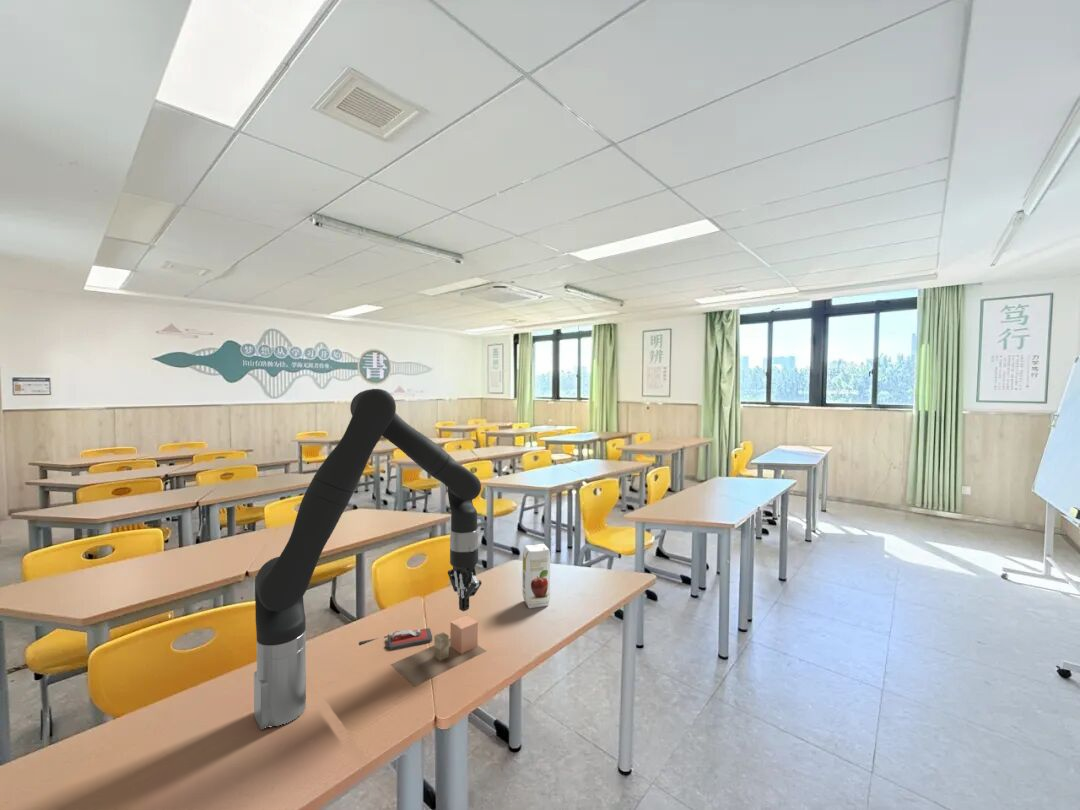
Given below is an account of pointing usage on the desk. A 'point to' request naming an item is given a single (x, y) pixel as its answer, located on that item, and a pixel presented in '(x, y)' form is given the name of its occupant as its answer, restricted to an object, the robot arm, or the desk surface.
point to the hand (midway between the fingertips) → (464, 609)
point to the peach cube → (464, 634)
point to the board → (433, 660)
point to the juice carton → (536, 575)
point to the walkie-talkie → (406, 638)
